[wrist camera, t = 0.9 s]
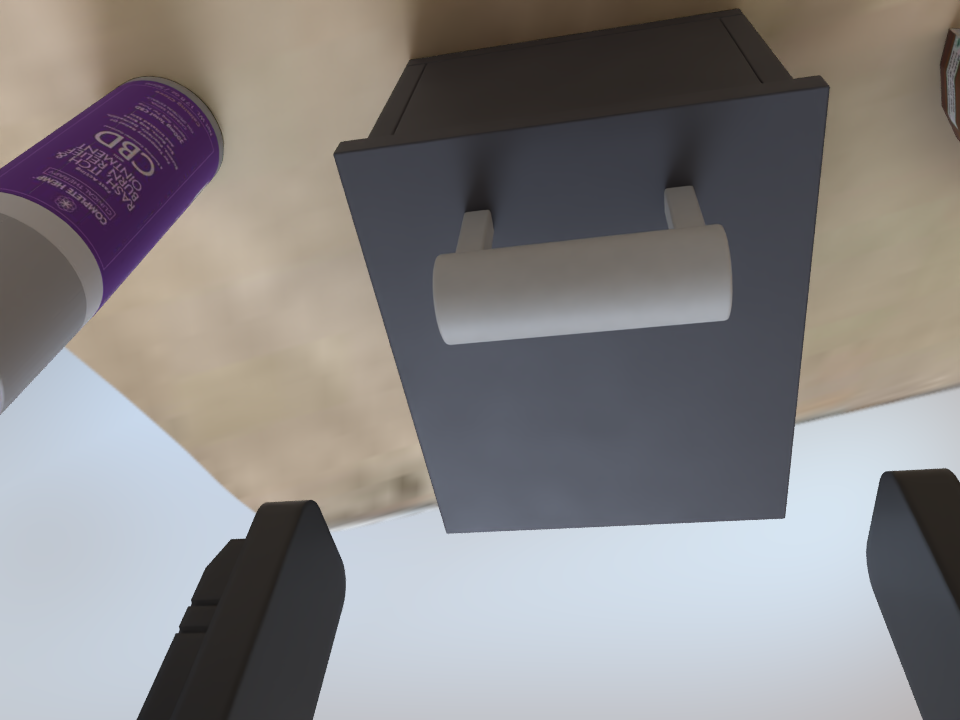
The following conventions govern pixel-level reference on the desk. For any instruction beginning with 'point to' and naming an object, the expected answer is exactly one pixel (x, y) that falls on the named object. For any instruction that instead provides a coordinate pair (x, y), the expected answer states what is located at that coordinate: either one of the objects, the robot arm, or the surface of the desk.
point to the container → (93, 213)
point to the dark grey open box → (580, 72)
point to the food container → (951, 79)
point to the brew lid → (600, 303)
